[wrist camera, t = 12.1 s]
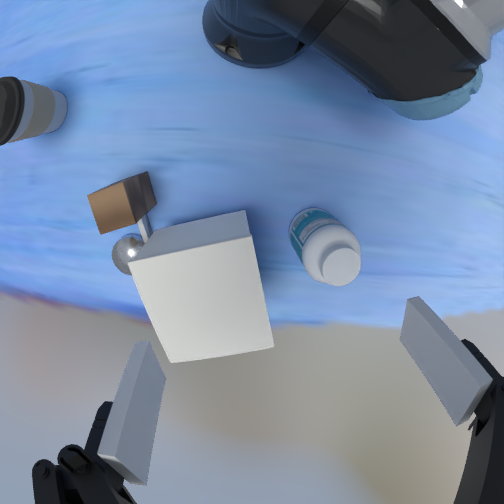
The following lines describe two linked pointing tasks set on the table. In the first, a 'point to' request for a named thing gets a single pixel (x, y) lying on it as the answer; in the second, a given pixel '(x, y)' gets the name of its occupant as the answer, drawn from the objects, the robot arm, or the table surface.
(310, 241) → the pill bottle
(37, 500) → the robot arm
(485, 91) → the table surface
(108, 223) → the wood grain block
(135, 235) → the silver shallow dome
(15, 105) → the coffee cup
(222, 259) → the cabinet
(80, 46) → the table surface
